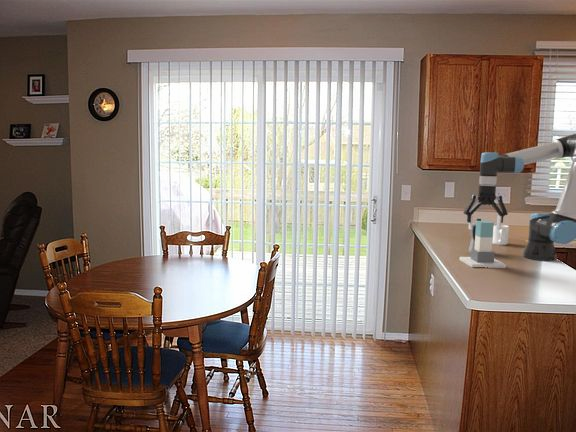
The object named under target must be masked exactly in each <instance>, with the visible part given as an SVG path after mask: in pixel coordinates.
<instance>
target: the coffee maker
mask: <svg viewBox="0 0 576 432" xmlns="http://www.w3.org/2000/svg"><path fill="white" fill-rule="evenodd" d="M476 221H482V218H476ZM475 231H476V222H475V223H473V224H472V230H470V237H471V239H470V242H469V243H470V244H469V248H468V252H469V253H471V249H474V248H475Z"/></svg>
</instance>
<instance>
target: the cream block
mask: <svg viewBox="0 0 576 432" xmlns="http://www.w3.org/2000/svg"><path fill="white" fill-rule="evenodd" d="M474 249H475V250H477V251H479V252H492V251H493V237H479V236H476V235H475V248H474Z"/></svg>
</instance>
